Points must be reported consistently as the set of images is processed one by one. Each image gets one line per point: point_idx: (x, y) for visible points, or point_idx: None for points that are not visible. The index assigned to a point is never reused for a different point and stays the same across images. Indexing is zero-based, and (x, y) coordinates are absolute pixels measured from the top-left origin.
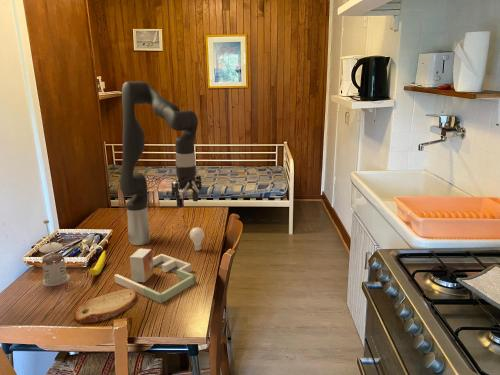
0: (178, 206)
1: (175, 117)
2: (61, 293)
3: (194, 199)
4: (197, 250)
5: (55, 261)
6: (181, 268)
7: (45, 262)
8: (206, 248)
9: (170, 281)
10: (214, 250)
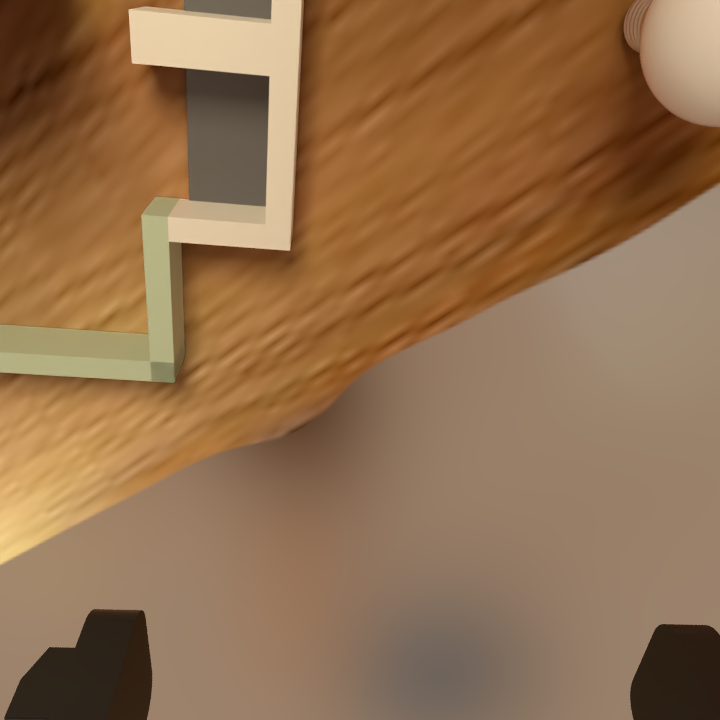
0: (95, 629)
1: None
2: None
3: (662, 701)
4: (626, 38)
5: None
6: (187, 231)
7: None
8: None
9: (79, 196)
10: (690, 167)
